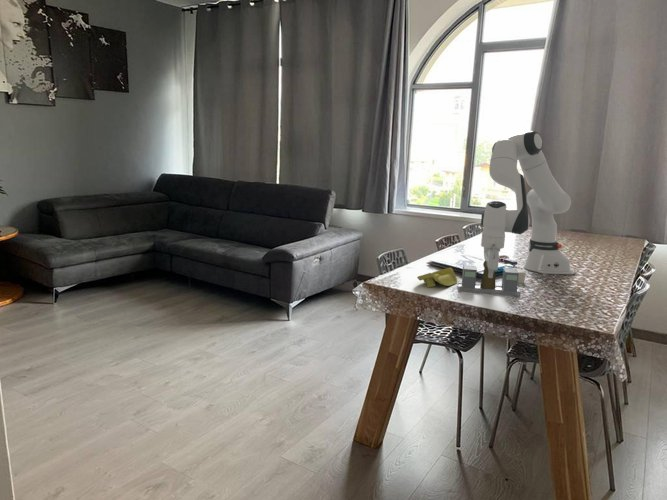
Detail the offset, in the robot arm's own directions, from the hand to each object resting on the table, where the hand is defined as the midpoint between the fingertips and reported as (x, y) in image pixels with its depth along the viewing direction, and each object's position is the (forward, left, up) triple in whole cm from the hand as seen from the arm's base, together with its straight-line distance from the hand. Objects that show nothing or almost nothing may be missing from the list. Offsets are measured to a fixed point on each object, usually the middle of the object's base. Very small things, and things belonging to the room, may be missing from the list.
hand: (489, 275), depth 200 cm
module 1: (+8, 0, -5) cm, 9 cm away
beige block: (-14, -19, -7) cm, 24 cm away
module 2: (-8, 0, -5) cm, 10 cm away
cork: (0, 0, -5) cm, 5 cm away
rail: (0, 0, -7) cm, 7 cm away
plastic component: (+21, -4, -7) cm, 23 cm away
